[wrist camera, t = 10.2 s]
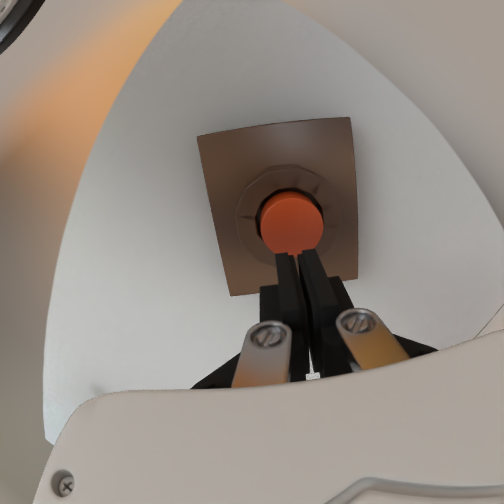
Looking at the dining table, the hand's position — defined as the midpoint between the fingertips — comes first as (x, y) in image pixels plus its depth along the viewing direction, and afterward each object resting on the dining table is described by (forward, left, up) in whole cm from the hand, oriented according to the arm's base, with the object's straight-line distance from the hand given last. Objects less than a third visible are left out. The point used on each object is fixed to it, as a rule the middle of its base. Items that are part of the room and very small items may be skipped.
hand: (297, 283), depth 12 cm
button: (0, +1, -7) cm, 7 cm away
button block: (0, +1, -10) cm, 10 cm away
